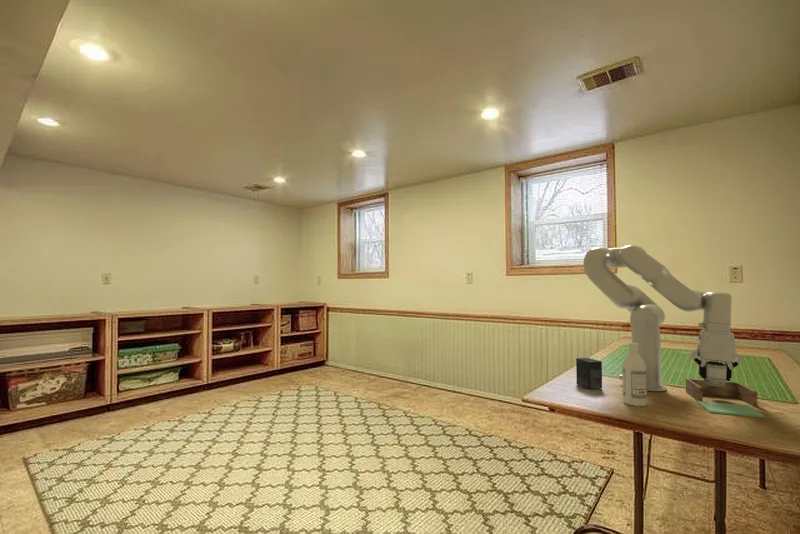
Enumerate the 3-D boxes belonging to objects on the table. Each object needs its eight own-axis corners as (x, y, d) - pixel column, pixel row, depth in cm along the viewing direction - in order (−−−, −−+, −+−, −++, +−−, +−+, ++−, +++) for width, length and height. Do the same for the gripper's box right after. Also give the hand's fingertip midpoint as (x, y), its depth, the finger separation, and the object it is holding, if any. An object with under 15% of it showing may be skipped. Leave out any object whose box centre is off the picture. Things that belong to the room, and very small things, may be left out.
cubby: (699, 402, 136) (698, 387, 136) (685, 392, 148) (685, 378, 148) (757, 407, 130) (757, 391, 131) (738, 396, 143) (738, 382, 143)
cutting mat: (709, 412, 125) (709, 410, 125) (696, 402, 135) (696, 400, 135) (765, 417, 120) (765, 415, 120) (747, 407, 130) (747, 405, 130)
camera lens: (703, 381, 145) (703, 359, 145) (725, 384, 141) (726, 362, 141) (703, 384, 139) (704, 362, 139) (726, 388, 136) (727, 365, 136)
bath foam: (651, 405, 132) (650, 344, 133) (638, 408, 129) (637, 345, 130) (631, 399, 138) (630, 341, 139) (618, 402, 135) (617, 342, 136)
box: (602, 389, 151) (602, 361, 152) (589, 390, 150) (589, 361, 150) (588, 384, 159) (588, 357, 159) (576, 384, 158) (575, 357, 158)
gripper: (691, 326, 140) (689, 378, 139) (752, 331, 134) (750, 385, 134) (683, 324, 147) (682, 373, 147) (741, 328, 141) (739, 379, 141)
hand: (714, 378), depth 140 cm, fingers closed on camera lens, 6 cm apart
